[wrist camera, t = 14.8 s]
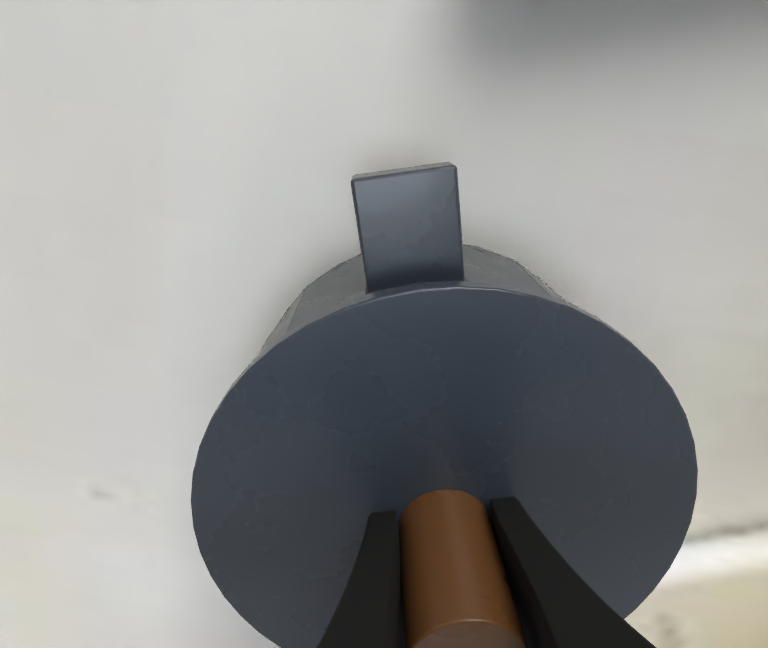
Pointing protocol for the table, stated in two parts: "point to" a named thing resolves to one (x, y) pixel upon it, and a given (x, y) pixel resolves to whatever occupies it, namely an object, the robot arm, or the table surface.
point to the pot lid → (441, 460)
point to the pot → (406, 244)
